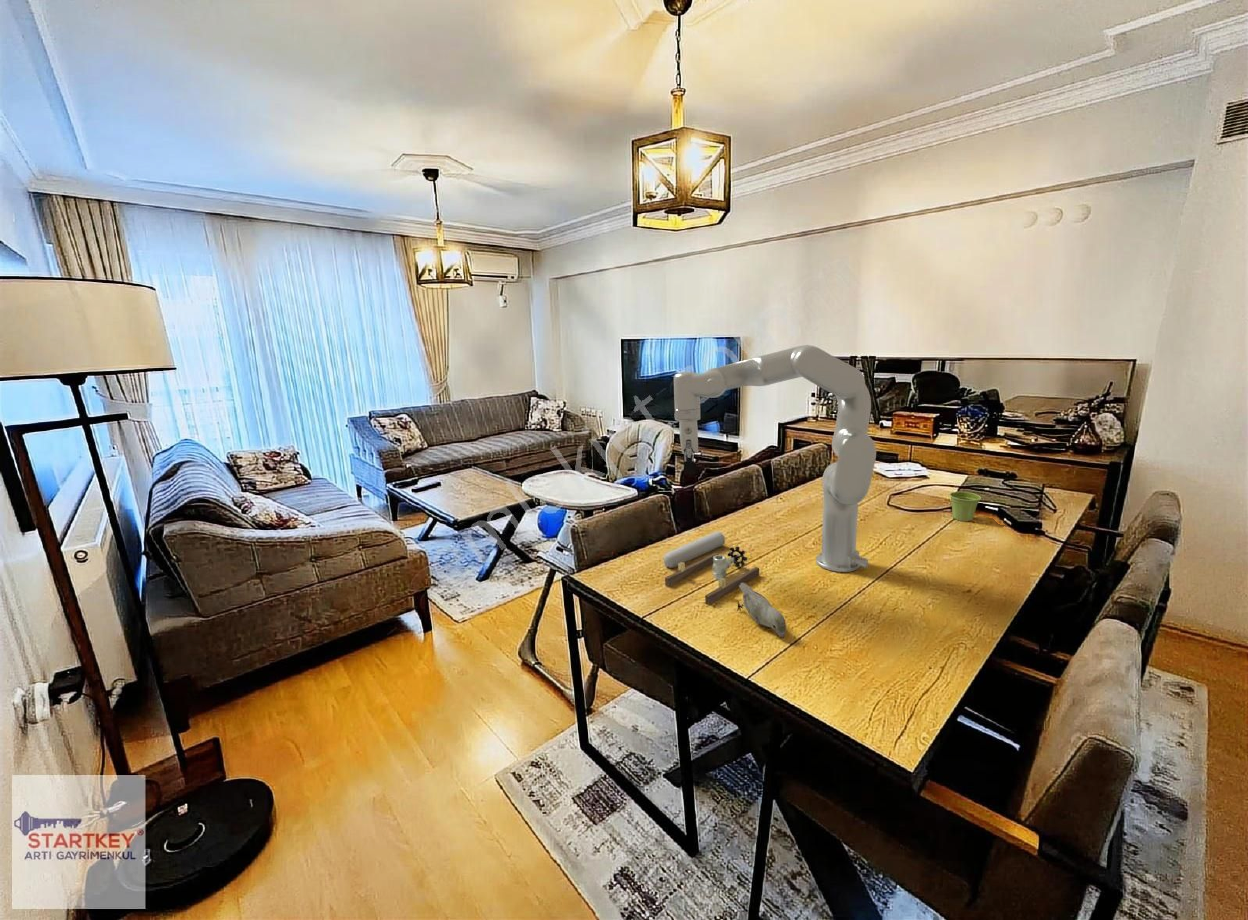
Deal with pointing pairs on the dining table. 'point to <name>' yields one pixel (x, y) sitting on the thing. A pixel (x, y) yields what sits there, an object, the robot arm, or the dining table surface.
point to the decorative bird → (762, 610)
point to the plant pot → (964, 505)
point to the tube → (694, 549)
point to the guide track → (723, 586)
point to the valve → (727, 562)
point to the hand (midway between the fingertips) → (689, 469)
